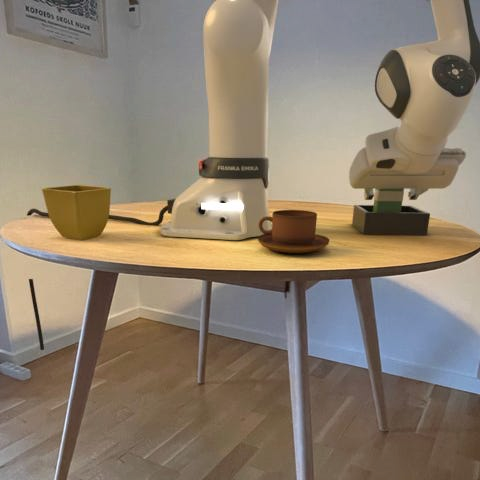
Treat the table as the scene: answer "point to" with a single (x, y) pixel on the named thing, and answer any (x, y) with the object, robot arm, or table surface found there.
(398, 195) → the packet
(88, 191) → the flower pot
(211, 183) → the robot arm
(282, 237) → the cup and saucer
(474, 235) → the table surface
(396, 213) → the dark open box
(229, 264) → the table surface
